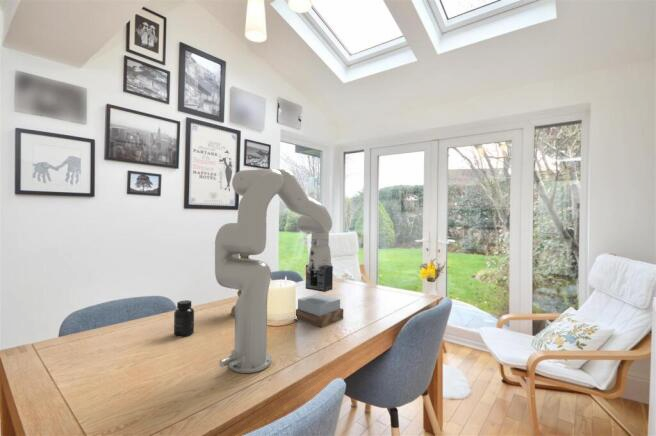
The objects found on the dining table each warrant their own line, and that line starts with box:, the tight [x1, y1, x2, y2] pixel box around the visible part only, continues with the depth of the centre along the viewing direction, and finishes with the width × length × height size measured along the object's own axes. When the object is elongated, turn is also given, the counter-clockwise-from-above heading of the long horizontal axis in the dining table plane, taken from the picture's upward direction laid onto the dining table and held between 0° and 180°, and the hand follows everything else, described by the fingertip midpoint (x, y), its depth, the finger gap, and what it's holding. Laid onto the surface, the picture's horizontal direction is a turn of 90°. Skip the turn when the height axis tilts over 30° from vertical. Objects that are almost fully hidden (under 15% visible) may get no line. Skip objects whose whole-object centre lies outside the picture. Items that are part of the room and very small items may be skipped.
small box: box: [305, 264, 334, 293], centre depth 135 cm, size 11×6×10 cm, turn 57°
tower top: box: [297, 293, 341, 316], centre depth 136 cm, size 13×13×4 cm
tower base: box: [295, 307, 344, 328], centre depth 136 cm, size 15×15×4 cm
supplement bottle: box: [173, 300, 195, 338], centre depth 116 cm, size 7×7×12 cm
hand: (319, 283), depth 135 cm, fingers closed on small box, 6 cm apart
